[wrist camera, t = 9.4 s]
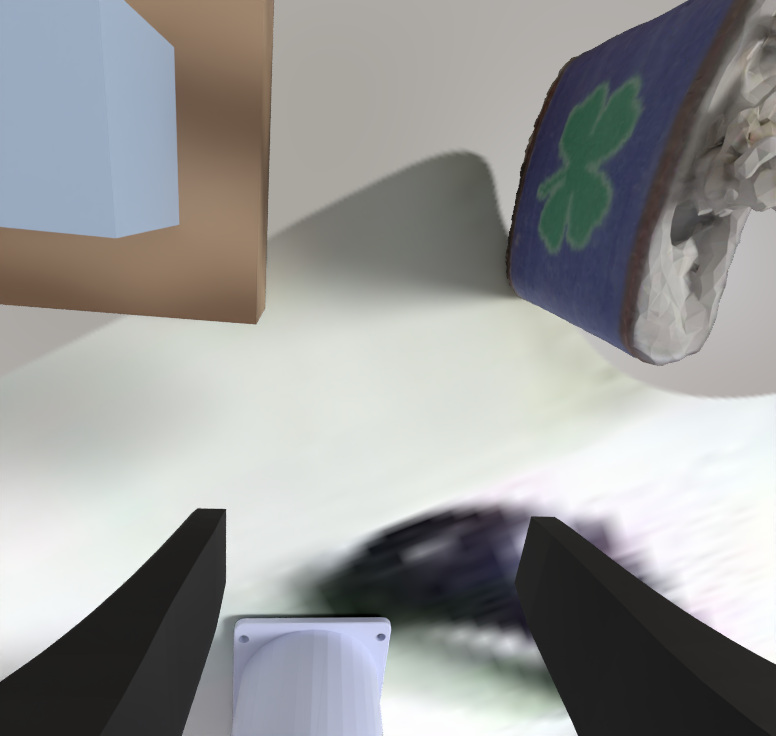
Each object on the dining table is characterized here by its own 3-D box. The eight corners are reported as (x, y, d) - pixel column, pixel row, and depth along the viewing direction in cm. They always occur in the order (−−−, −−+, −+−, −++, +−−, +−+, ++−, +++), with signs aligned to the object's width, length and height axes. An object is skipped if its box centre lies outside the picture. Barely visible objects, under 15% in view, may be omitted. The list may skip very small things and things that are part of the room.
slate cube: (179, 224, 16) (116, 238, 11) (10, 206, 15) (-134, 213, 10) (174, 47, 14) (97, -25, 9) (-17, 17, 13) (-202, -77, 9)
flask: (550, 303, 21) (756, 405, 11) (486, 290, 20) (639, 385, 10) (626, 62, 18) (1002, -105, 8) (554, 40, 17) (857, -166, 7)
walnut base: (264, 308, 19) (256, 324, 17) (-10, 285, 18) (-61, 299, 16) (275, -57, 15) (266, -101, 13) (-75, -124, 14) (-156, -187, 12)
